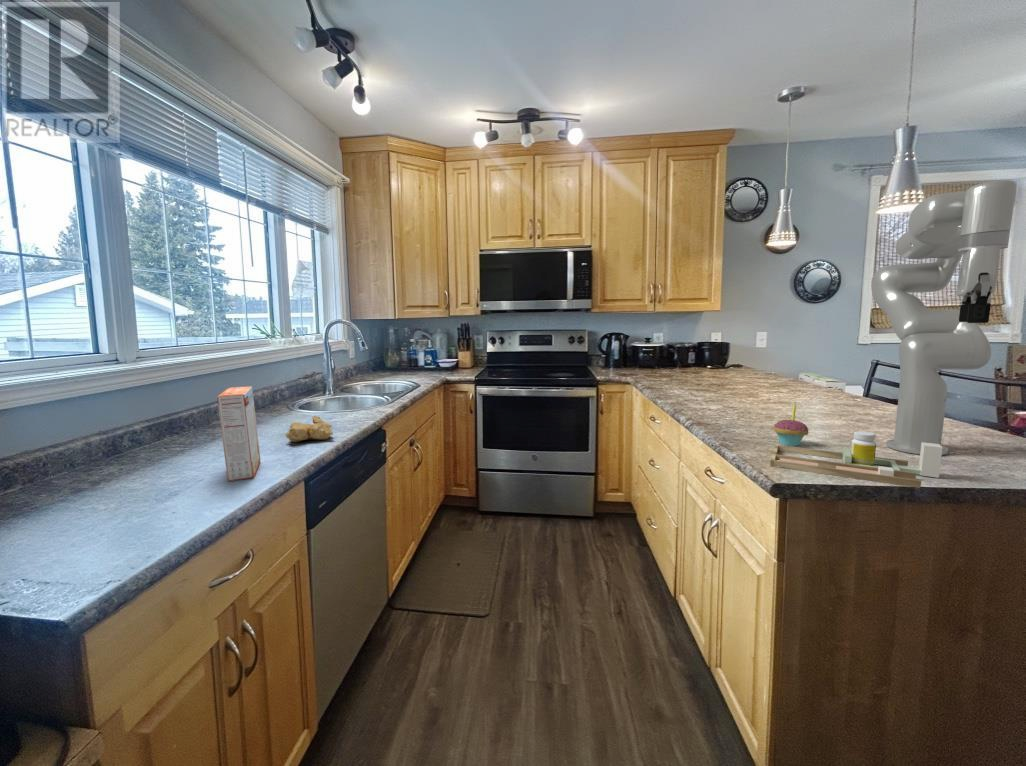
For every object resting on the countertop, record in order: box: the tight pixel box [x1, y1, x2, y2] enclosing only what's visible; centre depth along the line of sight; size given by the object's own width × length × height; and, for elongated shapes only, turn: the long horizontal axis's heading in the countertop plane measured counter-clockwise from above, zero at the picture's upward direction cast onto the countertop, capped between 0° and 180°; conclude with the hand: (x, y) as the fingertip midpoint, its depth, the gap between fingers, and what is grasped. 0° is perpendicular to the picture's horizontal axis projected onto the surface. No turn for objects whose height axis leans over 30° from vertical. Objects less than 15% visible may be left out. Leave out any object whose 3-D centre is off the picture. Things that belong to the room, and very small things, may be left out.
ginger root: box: [285, 415, 334, 443], centre depth 142 cm, size 16×16×8 cm
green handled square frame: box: [841, 442, 943, 478], centre depth 105 cm, size 9×17×7 cm, turn 56°
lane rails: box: [769, 444, 922, 489], centre depth 109 cm, size 16×28×2 cm, turn 56°
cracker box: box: [216, 386, 261, 482], centre depth 111 cm, size 14×6×21 cm, turn 23°
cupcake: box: [773, 402, 809, 447], centre depth 128 cm, size 9×8×12 cm
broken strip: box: [780, 458, 894, 476], centre depth 105 cm, size 4×22×2 cm, turn 56°
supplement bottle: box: [850, 430, 877, 466], centre depth 108 cm, size 5×5×8 cm
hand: (972, 322), depth 99 cm, fingers open, 9 cm apart
